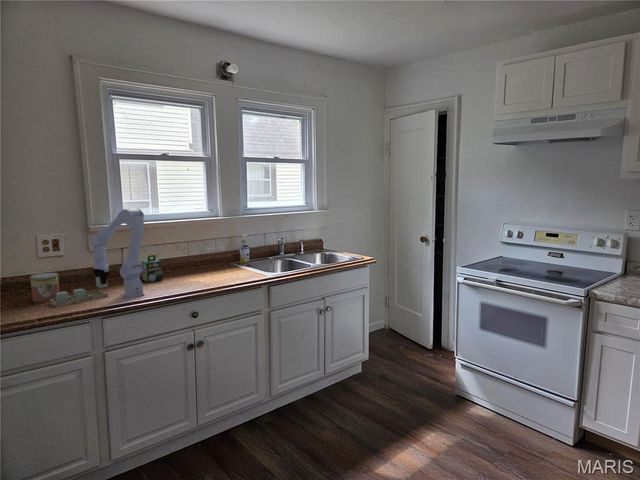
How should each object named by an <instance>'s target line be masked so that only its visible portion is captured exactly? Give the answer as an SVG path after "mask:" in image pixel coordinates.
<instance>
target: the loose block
mask: <svg viewBox="0 0 640 480" xmlns="http://www.w3.org/2000/svg"><path fill="white" fill-rule="evenodd" d="M95 283H96V287H97V288H99V289H101V288H105V287H106V288H107V287H108V286H109V285H108V281H107V282H106V284H103V285H102V284H101V281H100V277H96V276H95Z"/></svg>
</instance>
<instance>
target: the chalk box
mask: <svg viewBox="0 0 640 480" xmlns="http://www.w3.org/2000/svg"><path fill="white" fill-rule="evenodd" d="M156 257H157V256H156V254H152V255H151V254H150V255H147V259H144V260H143V259H142V260H140V261H141V262H142V272H141V279H142V280H143V281H145V282H146V283H149V282H150V283H152V282H157V281H162V280H164V279H163V278H164V277H163V261H162V260H160V259H158V258H156Z"/></svg>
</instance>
